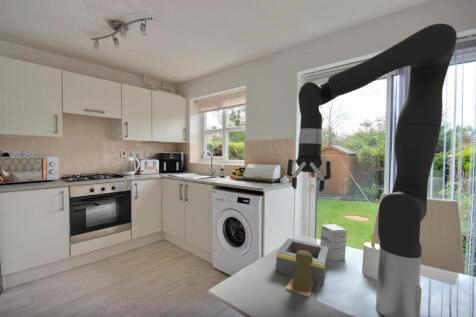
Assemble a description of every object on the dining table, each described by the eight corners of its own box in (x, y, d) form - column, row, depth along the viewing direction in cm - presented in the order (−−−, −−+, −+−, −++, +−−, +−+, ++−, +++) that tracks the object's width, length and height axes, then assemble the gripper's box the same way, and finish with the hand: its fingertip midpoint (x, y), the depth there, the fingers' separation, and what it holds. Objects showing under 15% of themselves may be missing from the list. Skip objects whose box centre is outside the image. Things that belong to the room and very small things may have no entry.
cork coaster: (312, 285, 74) (312, 283, 74) (309, 297, 68) (309, 295, 68) (291, 279, 77) (291, 277, 77) (286, 289, 71) (286, 287, 71)
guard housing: (327, 264, 89) (328, 246, 89) (323, 285, 74) (324, 264, 74) (286, 254, 96) (287, 238, 96) (275, 272, 81) (276, 252, 81)
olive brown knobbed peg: (313, 293, 68) (315, 257, 68) (292, 290, 70) (294, 254, 69) (311, 282, 74) (313, 249, 74) (292, 279, 76) (294, 246, 75)
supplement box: (319, 253, 99) (320, 224, 98) (333, 252, 101) (334, 223, 101) (330, 261, 92) (332, 230, 91) (345, 259, 94) (347, 229, 94)
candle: (386, 276, 82) (388, 235, 81) (375, 280, 79) (377, 237, 78) (369, 268, 87) (371, 229, 87) (358, 271, 84) (360, 231, 84)
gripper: (333, 144, 78) (330, 191, 79) (291, 143, 85) (289, 186, 85) (331, 142, 72) (328, 194, 72) (286, 141, 78) (284, 188, 78)
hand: (307, 189), depth 79 cm, fingers open, 8 cm apart
